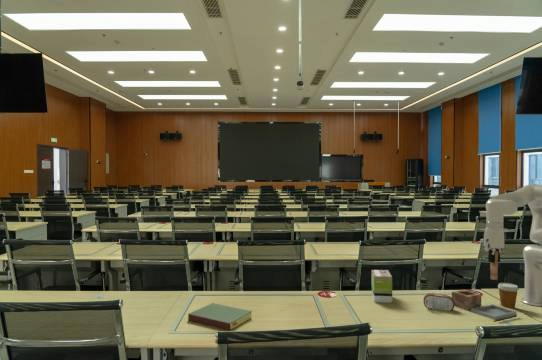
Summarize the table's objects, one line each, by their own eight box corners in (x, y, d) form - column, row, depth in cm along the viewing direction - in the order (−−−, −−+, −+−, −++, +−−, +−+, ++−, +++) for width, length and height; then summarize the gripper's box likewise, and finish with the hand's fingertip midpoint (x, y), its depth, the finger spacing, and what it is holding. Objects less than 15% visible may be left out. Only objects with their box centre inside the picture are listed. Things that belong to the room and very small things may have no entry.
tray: (492, 308, 214) (492, 304, 214) (516, 316, 202) (516, 311, 202) (471, 313, 207) (471, 308, 207) (494, 321, 195) (494, 316, 195)
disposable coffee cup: (521, 311, 211) (521, 288, 210) (501, 309, 213) (501, 287, 212) (514, 305, 220) (514, 283, 220) (494, 304, 222) (495, 282, 222)
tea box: (371, 294, 239) (371, 269, 239) (388, 295, 238) (388, 269, 237) (373, 302, 224) (374, 275, 224) (392, 303, 223) (393, 276, 223)
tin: (454, 311, 209) (454, 295, 209) (454, 313, 207) (454, 297, 206) (423, 307, 216) (423, 291, 216) (423, 309, 213) (423, 293, 213)
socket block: (464, 304, 222) (464, 289, 221) (481, 309, 213) (481, 294, 212) (451, 306, 217) (451, 291, 217) (467, 312, 208) (468, 297, 208)
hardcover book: (188, 321, 195) (188, 313, 195) (212, 310, 212) (212, 303, 212) (231, 332, 183) (231, 323, 183) (253, 319, 199) (253, 311, 199)
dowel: (493, 277, 206) (493, 250, 206) (499, 279, 204) (499, 251, 203) (488, 278, 205) (489, 250, 205) (494, 280, 202) (495, 251, 202)
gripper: (498, 223, 211) (498, 259, 211) (476, 225, 204) (476, 262, 204) (512, 225, 204) (512, 262, 204) (490, 227, 197) (489, 265, 197)
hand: (494, 261), depth 204 cm, fingers closed on dowel, 3 cm apart
